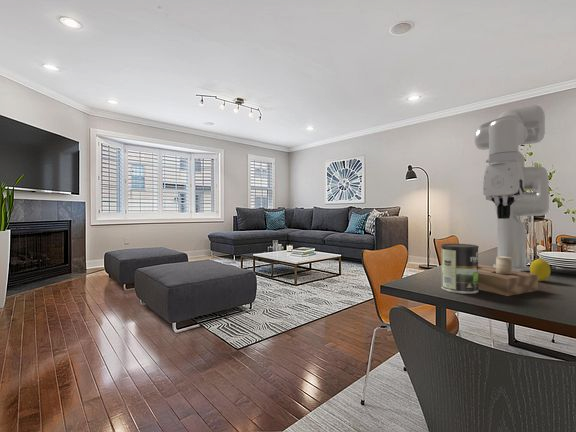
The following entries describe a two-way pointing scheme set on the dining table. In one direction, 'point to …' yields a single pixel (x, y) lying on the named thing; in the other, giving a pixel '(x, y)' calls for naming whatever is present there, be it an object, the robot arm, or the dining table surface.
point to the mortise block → (506, 281)
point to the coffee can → (460, 268)
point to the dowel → (504, 265)
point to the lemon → (540, 269)
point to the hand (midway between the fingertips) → (503, 218)
